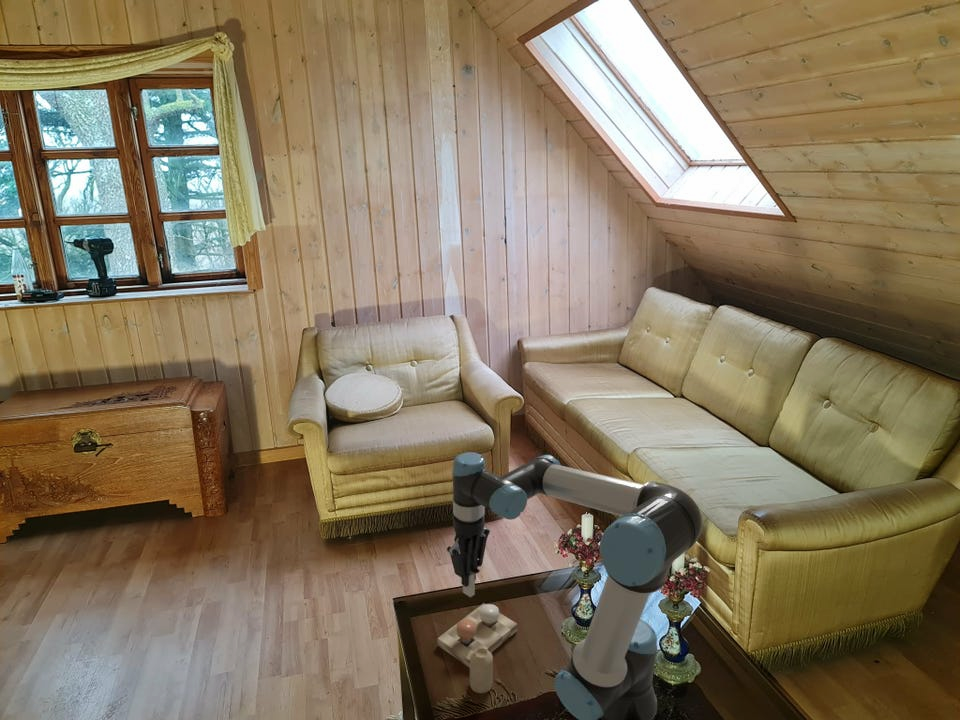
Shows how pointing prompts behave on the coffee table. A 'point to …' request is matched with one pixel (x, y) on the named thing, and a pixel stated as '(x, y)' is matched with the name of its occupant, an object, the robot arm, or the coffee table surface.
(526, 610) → the coffee table surface
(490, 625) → the white round piece
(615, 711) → the robot arm
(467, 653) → the cream compartment tray
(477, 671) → the cream bottle
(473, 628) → the pink light bulb
